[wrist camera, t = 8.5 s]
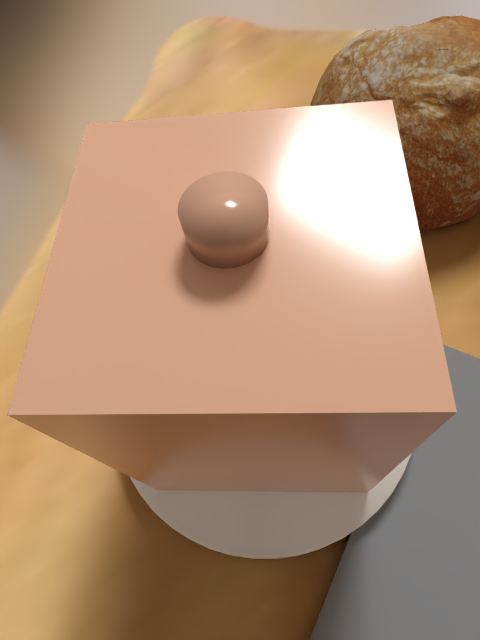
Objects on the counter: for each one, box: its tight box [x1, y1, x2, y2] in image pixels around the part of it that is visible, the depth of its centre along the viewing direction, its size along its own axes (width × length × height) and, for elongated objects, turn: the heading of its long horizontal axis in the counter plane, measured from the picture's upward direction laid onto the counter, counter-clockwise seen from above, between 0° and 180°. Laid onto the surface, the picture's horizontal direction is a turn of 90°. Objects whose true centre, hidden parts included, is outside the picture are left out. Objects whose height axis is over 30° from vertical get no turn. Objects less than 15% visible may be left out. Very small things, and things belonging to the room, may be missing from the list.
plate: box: [130, 454, 411, 559], centre depth 17 cm, size 11×11×1 cm
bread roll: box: [311, 16, 480, 230], centre depth 21 cm, size 10×10×8 cm
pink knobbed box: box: [7, 100, 457, 492], centre depth 12 cm, size 7×7×10 cm
